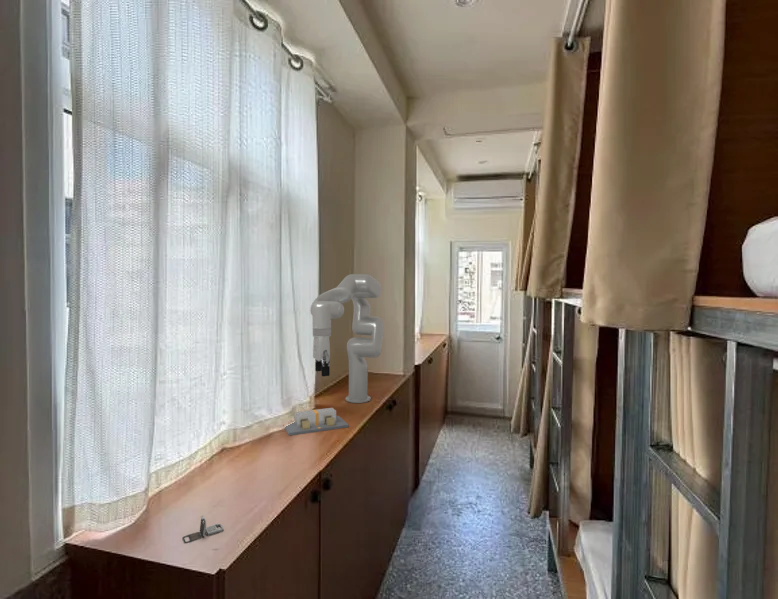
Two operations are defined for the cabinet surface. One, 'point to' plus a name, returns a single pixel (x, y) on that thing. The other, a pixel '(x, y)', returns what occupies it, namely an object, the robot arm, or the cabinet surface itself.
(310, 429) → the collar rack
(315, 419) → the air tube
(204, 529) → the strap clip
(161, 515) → the cabinet surface
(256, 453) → the cabinet surface
